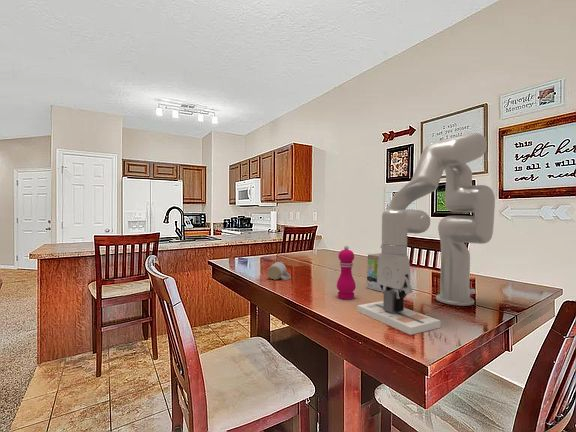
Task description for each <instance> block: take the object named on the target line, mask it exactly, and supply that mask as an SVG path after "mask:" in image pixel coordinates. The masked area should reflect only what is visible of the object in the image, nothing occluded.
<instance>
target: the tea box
mask: <svg viewBox="0 0 576 432" xmlns="http://www.w3.org/2000/svg"><path fill="white" fill-rule="evenodd" d="M380 253H381V252H379V253H370V254H367V267H366V268H367V271H366V288H367V289H370V290H374V291H378V292H381V293H383V290H382V289H381V287H380V285H379V284H378V283H377V266H378V259H379V255H380ZM392 289H393V288H392Z"/></svg>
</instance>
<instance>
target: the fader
mask: <svg viewBox="0 0 576 432" xmlns="http://www.w3.org/2000/svg"><path fill="white" fill-rule="evenodd" d="M399 291H400V292H401V290H399ZM395 298H396V293H395V289H392V290H385V291H384V294H383V298H382V299H383V300H382V301H383V310H385V311H388V312H390V313H395V312H396V311H394V299H395ZM404 299H405V298H403V310H402V311H404V308H405V305H404V304H405V301H404ZM397 312H400V311H397Z"/></svg>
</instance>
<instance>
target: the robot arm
mask: <svg viewBox="0 0 576 432" xmlns="http://www.w3.org/2000/svg"><path fill="white" fill-rule="evenodd" d="M487 147H488V142H487V139H486V137H485V136H484V135H483V134H481V133H478V132H474V133H470V134H464V135H459V136H454V137H453V136H452V137H449V138H448V137H447V138H445V139H441V140H439V141H438V142H434V143H430V144H427V145H426V146H425V147H424V148H423V150H422V152H421V155H420V157H419V160H418V163H417V165H416V168H415V169H414V172H413V175H412V177H411V180H410V181H409V182H408V183H406V184H405V185H404V186H403V187H402V188H401V189H399V191H397V192H396V194H394V196H393V197H392V199H391V200H390V202H389V205H388V207H387V209H386V210H384V211H383V212H382V214H381V245H380V250H381V252H379V253H380V255H379V259H378V266H377V283H378V284H379V285H380V287H381V289H382V290H383V292H382V295H384V291H385V290H392V288H393V289H395V293H396V298H395V299H394V311H396V312H397V311H402V310H403V298H404V299H405V298H406V296H407V295H408V294H410V293H411V294H412V293H413V288H412V286H411V281H412V280H411V266H410V260H409V255H408V234H415V235H416V234H422V233H426V231H428V230H429V228H430V227H431V217H430V215H429V214H428V213H427V212H425V211H424V210H420V209H407V208H408V206H410V205H411V204H412V203H413V202H415V201H416V200H419V199H420V198H424V197H425V196H427V195H429V194H432V193H433V192H434V191H436V190H437V189H438V187H439V184H440V182H441V178H442V177H443V173H444V172H445V191H444V192H445V193H444V206H445V209H446V210H447V211H449V212H452V213H453V212H454V213H474V215H447V216H444V217H443V218H442V219H441V220H440V221H439V222H438V225H437V227H438V228H437V231H438V235H439V242H440V289H439V290H440V292H439V294H438V293H437V294H436V295H435V299H436V301H438V302H439V303H442V304H443V303H444V304H447V305H451V306H459V307H460V306H461V307H462V306H463V307H464V306H465V307H466V306H473V305H474V304H475V300H474V298H472V297H471V295H475V294H476V289H475V288H470V279H471V277H470V276H471V274H470V273H471V270H470V267H471V254H470V251H469V248H468V247H467V245H466V243H468V244H479V245H481V244H487V243H489V242H490V241H491V240H492V237H493V234H494V224H495V223H494V222H495V208H496V199H495V198H496V197H495V193H494V191H493V189H492V188H491V187H490V186H488V185H484V184H483V185H482V184H477V185H473V171H472V169H471V168H470V166H469V165H468V164H469V163H470V162H472V161H473V162H474V161H476V160H477V159H480V158H481V157H482V156H484V154H486V150H487ZM399 290H401V292H400V291H399Z"/></svg>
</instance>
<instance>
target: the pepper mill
mask: <svg viewBox="0 0 576 432" xmlns="http://www.w3.org/2000/svg"><path fill="white" fill-rule="evenodd" d="M349 248H350V247H349V246H348V245H345V246H344V247H343V249H342V250H340V251H339V253H338V255H337V256H338V260H339V267H340V275H339V277H338V279H337V283H336V289H337V290H338V292H337V298H338V299H341V300H347V301H348V300H349V301H351V300H354V299H355V292H354V291H355V290H356V282H355V279H354V277H353V273H352V268H353V267H354V262H353V261H354V259H355V254H354V252H353V251H352V250H350V249H349Z"/></svg>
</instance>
